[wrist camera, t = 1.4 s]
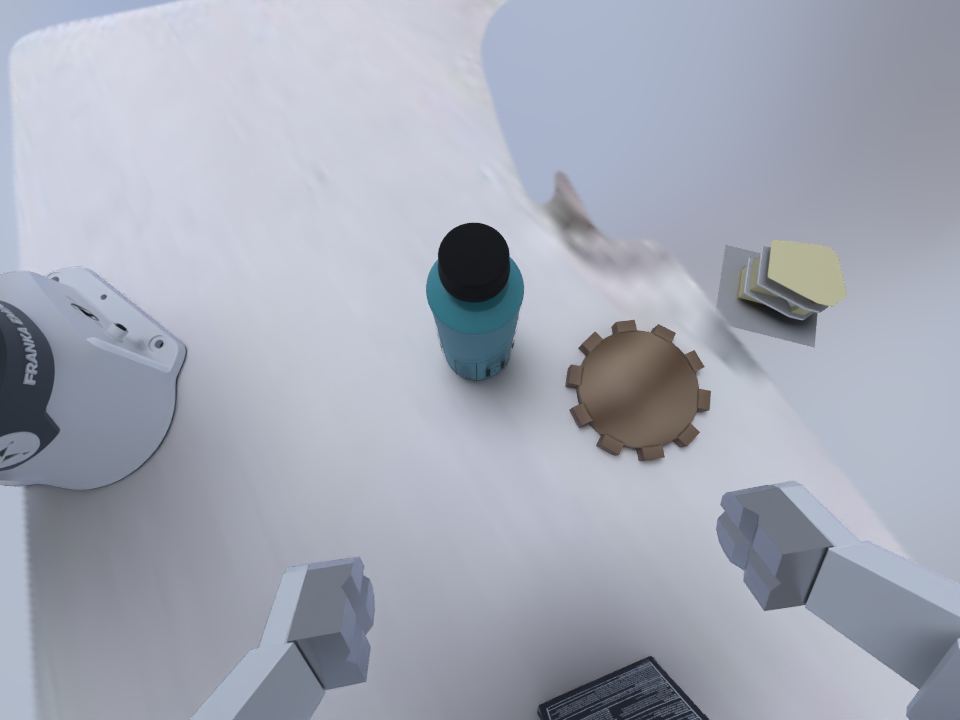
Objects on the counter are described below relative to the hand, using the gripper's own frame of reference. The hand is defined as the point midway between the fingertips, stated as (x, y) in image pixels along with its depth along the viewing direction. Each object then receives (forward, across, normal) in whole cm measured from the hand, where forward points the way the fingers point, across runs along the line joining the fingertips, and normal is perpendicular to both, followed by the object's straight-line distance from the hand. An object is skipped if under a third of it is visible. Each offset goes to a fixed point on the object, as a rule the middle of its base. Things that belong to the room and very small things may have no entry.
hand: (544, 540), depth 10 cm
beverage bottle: (+31, 0, +12) cm, 33 cm away
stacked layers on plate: (+33, -30, +11) cm, 46 cm away
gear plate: (+27, -14, +16) cm, 34 cm away
